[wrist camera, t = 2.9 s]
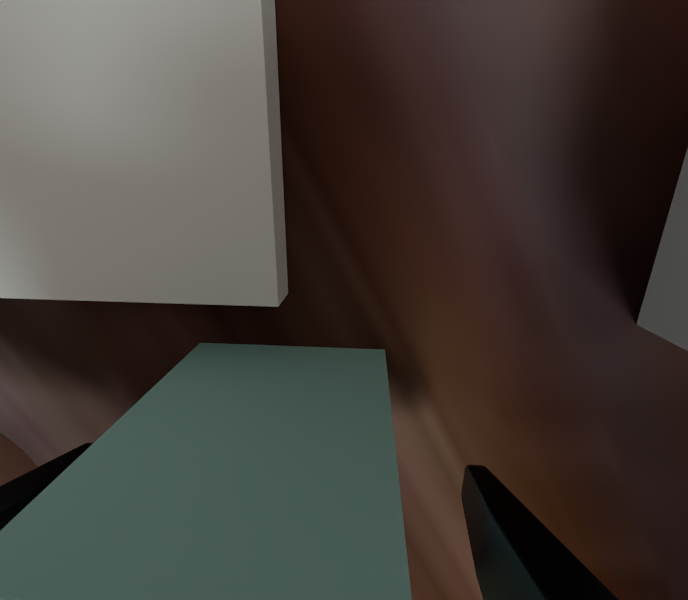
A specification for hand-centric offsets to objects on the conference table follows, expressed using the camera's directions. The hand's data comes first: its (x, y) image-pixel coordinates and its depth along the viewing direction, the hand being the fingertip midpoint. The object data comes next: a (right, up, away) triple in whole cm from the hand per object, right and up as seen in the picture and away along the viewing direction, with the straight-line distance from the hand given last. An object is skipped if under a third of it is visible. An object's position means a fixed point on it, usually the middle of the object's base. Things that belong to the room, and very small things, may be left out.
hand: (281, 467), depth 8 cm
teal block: (0, +1, +2) cm, 2 cm away
